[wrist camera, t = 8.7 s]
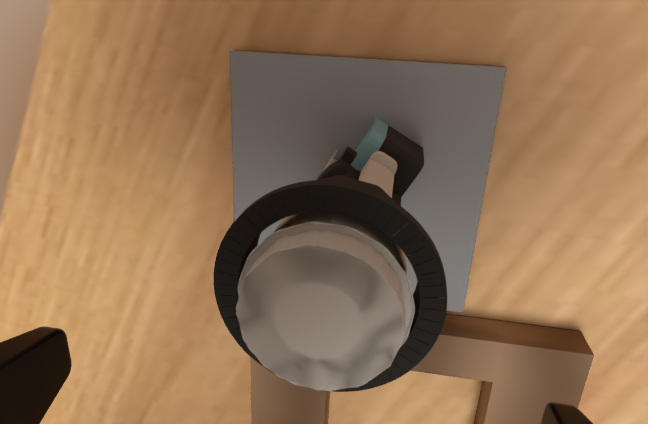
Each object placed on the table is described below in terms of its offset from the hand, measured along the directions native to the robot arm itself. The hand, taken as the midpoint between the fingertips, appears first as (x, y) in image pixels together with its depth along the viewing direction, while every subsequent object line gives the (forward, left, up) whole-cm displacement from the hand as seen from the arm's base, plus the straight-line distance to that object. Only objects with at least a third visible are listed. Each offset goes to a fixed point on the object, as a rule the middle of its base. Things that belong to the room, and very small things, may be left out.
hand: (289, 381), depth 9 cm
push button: (0, 0, -12) cm, 12 cm away
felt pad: (0, 0, -12) cm, 12 cm away
